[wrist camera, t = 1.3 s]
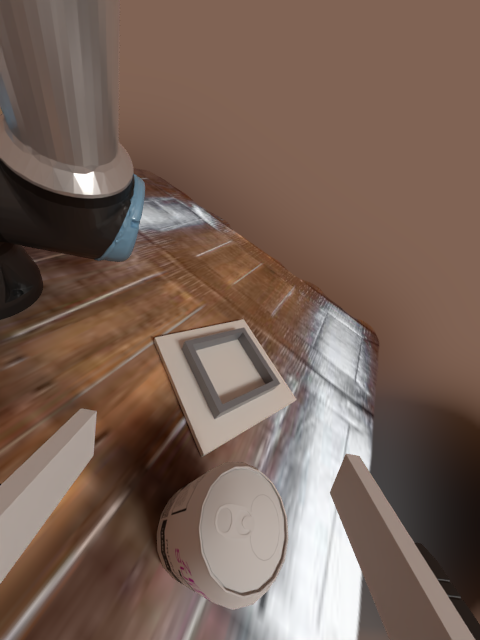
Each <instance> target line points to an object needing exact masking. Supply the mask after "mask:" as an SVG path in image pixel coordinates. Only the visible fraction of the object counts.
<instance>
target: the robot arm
mask: <svg viewBox="0 0 480 640" xmlns="http://www.w3.org/2000/svg"><path fill="white" fill-rule="evenodd" d="M119 31H120V0H0V107H1V109H2V112H3V114H1V115H0V320H1V319H4V318H7V317H10V316H12V315H15V314H17V313H19V312H21V311H23V310H25V309H26V308H28V307H29V306H31V305H32V304H33V303H34V302H35V301H36V300H37V299H38V298H39V296H40V295H41V293H42V290H43V281H42V277H41V273H40V270H39V268H38V267H37V265H36V264H35V262H34V261H33V260H32V259H31V257H30V256H29V255H28V254H27V252H26V251H25V250H24V249H23V247H22V246H27V247H32V248H37V249H43V250H48V251H53V252H58V253H64V254H69V255H74V256H79V257H85V258H90V259H94V260H97V261H100V260H107V261H115V262H122V261H125V260H126V259H128V258H129V257H130V255H131V253H132V251H133V248H134V245H135V242H136V238H137V234H138V229H139V224H140V219H141V216H142V210H143V204H144V196H145V184H144V181H143V180H142V179H141V178H139V177H137V176H136V175H135V174H133V165H132V161H131V158H130V157H129V154H128V153H127V151H126V150H125V148H124V147H123V146H122V145H121V144H120V143H119ZM21 245H22V246H21ZM96 414H97V411H93V410H88V409H82V408H81V409H80V410H79V411H78V412H77V413H76V414H74V415H73V416H72V417H71V418H70V419H69V420H68V421H67V422H66V423H65V424H64V425H63V426H62V427H61V428H60V429H59V430H58V431H57V432H56V433H55V434H54V435H53V436H52V437H50V438H49V439H48V440H47V441H46V442H45V443H44V444H43V445H42V446H41V447H40V448H39V449H38V450H37V451H36V452H35V453H34V454H33V455H32V456H31V457H30V458H29V459H28V460H26V461H25V462H24V463H23V464H22V465H21V466H20V467H19V468H18V469H17V470H16V471H15V472H14V473H13V474H12V475H11V476H10V477H9V478H8V479H7V480H6V481H5V482H4V483H2V484H0V583H1V582H2V581H3V579H4V578H5V577H6V575H7V574H8V572H9V571H10V570H11V568H12V567H13V566H14V564H15V563H16V561H17V560H18V559H19V557H20V556H21V555H22V553H23V552H24V550H25V549H26V548H27V546H28V545H29V544H30V542H31V541H32V539H33V538H34V537H35V535H36V534H37V532H38V531H39V530H40V528H41V527H42V526H43V524H44V523H45V521H46V520H47V519H48V517H49V516H50V515H51V513H52V512H53V510H54V509H55V508H56V506H57V505H58V504H59V502H60V501H61V499H62V498H63V497H64V495H65V494H66V493H67V491H68V490H69V488H70V487H71V486H72V484H73V483H74V482H75V480H76V479H77V477H78V476H79V475H80V473H81V472H82V471H83V469H84V468H85V466H86V465H87V464H88V462H89V461H90V460H91V458H92V457H93V455H94V442H95V428H96ZM330 494H331V497H332V499H333V502H334V504H335V506H336V509H337V511H338V514H339V516H340V519H341V521H342V524H343V526H344V529H345V531H346V534H347V536H348V538H349V541H350V543H351V546H352V548H353V551H354V553H355V556H356V558H357V561H358V563H359V566H360V568H361V570H362V573H363V575H364V578H365V580H366V583H367V585H368V588H369V590H370V592H371V595H372V598H373V600H374V602H375V605H376V607H377V610H378V612H379V615H380V617H381V620H382V622H383V625H384V627H385V630H386V632H387V634H388V637H389V639H390V640H480V624H479V623H478V621H477V620H476V618H475V617H474V616H473V614H472V612H471V611H470V609H469V608H468V606H467V605H466V604H465V602H464V601H463V600H462V599H461V596H460V594H459V593H458V592H457V590H456V588H455V587H454V585H453V584H451V583H450V580H449V578H448V577H447V575H446V574H445V572H444V571H443V569H442V568H441V566H440V565H439V563H438V562H437V560H436V559H435V558H434V557H433V556H432V555H431V554H430V553H429V552H428V550H427V549H426V548H425V547H424V546H423V545H422V544H420V543H414V542H413V540H412V539H411V537H410V536H409V534H408V533H407V531H406V529H405V528H404V526H403V524H402V523H401V521H400V520H399V518H398V517H397V515H396V513H395V512H394V510H393V509H392V507H391V505H390V504H389V502H388V501H387V499H386V498H385V496H384V495H383V493H382V491H381V490H380V488H379V486H378V485H377V483H376V482H375V480H374V479H373V477H372V475H371V474H370V472H369V471H368V469H367V467H366V466H365V464H364V463H363V461H362V460H361V458H360V456H356V455H350V454H346V455H345V457H344V460H343V462H342V465H341V467H340V469H339V472H338V474H337V477H336V479H335V482H334V484H333V486H332V489H331V491H330Z"/></svg>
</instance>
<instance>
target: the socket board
mask: <svg viewBox="0 0 480 640" xmlns="http://www.w3.org/2000/svg"><path fill="white" fill-rule="evenodd" d="M154 343H155V346H156V348H157V351H158V353H159V355H160V358H161V360H162V363H163V365H164V367H165V370H166V372H167V375H168V377H169V380H170V382H171V384H172V387H173V389H174V392H175V394H176V397H177V399H178V401H179V404H180V406H181V409H182V411H183V413H184V416H185V418H186V421H187V423H188V426H189V428H190V430H191V433H192V435H193V438H194V440H195V443H196V445H197V447H198V450H199V452H200V455H201V457H202V456H204V455H206V454H207V453H209V452H211V451H213V450H214V449H216V448H218V447H219V446H221V445H223V444H224V443H226V442H228V441H229V440H231V439H233V438H234V437H236V436H238V435H239V434H241V433H243V432H244V431H246V430H248V429H249V428H251V427H253V426H254V425H256V424H258V423H259V422H261V421H263V420H264V419H266V418H268V417H269V416H271V415H273V414H274V413H276V412H278V411H279V410H281V409H283V408H284V407H286V406H288V405H289V404H291V403H293V402H294V401H295V400H296V398H295V396H294V395H293V393H292V392H291V390H290V389H289V387H288V386H287V384H286V383H285V381H284V380H283V378H282V377H281V375H280V374H279V372H278V371H277V369H276V368H275V366H274V365H273V363H272V362H271V360H270V359H269V357H268V356H267V354H266V353H265V351H264V350H263V348H262V346H261V345H260V343H259V342H258V340H257V339H256V337H255V336H254V334H253V333H252V331H251V330H250V328H249V327H248V325H247V324H246V322H245V321H244V319H243V320H238V321H233V322H229V323H224V324H219V325H214V326H209V327H204V328H199V329H194V330H189V331H184V332H180V333H175V334H170V335H165V336H160V337H155V339H154Z"/></svg>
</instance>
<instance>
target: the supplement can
mask: <svg viewBox="0 0 480 640" xmlns="http://www.w3.org/2000/svg"><path fill="white" fill-rule="evenodd" d="M287 544H288V525H287V515H286V512H285V509H284V505H283V502H282V498H281V496H280V495H279V493H278V491H277V489H276V488H275V486H274V484H273V483H272V482H271V481H270V480H269V479H268V478H267V477H266V476H265V475H264V474H263V473H262V472H260V471H259V470H258V469H257V468H255V467H253V466H250V465H248V464H246V463H243V462H226V463H224V464H222V465H220V466H217V467H215V468H213V469H211V470H210V471H208V472H207V473H205V474H203V475H202V476H200V477H199V478H197V479H195V480H194V481H192V482H191V483H189V484H188V485H186V486H184V487H183V488H181V489H180V490H178V491H177V492H176V493H175V494H174V495H173V497H172V498H171V499H170V500H169V501H168V503H167V505H166V506H165V508H164V510H163V512H162V514H161V517H160V521H159V525H158V529H157V551H158V554H159V557H160V560H161V563H162V566H163V568H164V569H165V570H166V571H167V572H168V573H169V574H170V576H171V577H172V578H173V579H175V580H177V581H178V582H180V583H182V584H183V585H185V586H186V587H188V588H190V589H191V590H193V591H195V592H196V593H198V594H200V595H201V596H203V597H204V598H206V599H208V600H209V601H211V602H213V603H215V604H218V605H221V606H224V607H227V608H230V609H232V610H234V609H238V608H241V607H245V606H249V605H253V604H254V603H255V602H256V601H257V600H258V599H259V598H260V597H261V596H262V595H263V594H265V593H266V592H267V591H268V590H269V589H270V587H271V585H272V583H273V582H274V581H275V580H276V578H277V576H278V574H279V572H280V569H281V567H282V565H283V563H284V561H285V555H286V549H287Z"/></svg>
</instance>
